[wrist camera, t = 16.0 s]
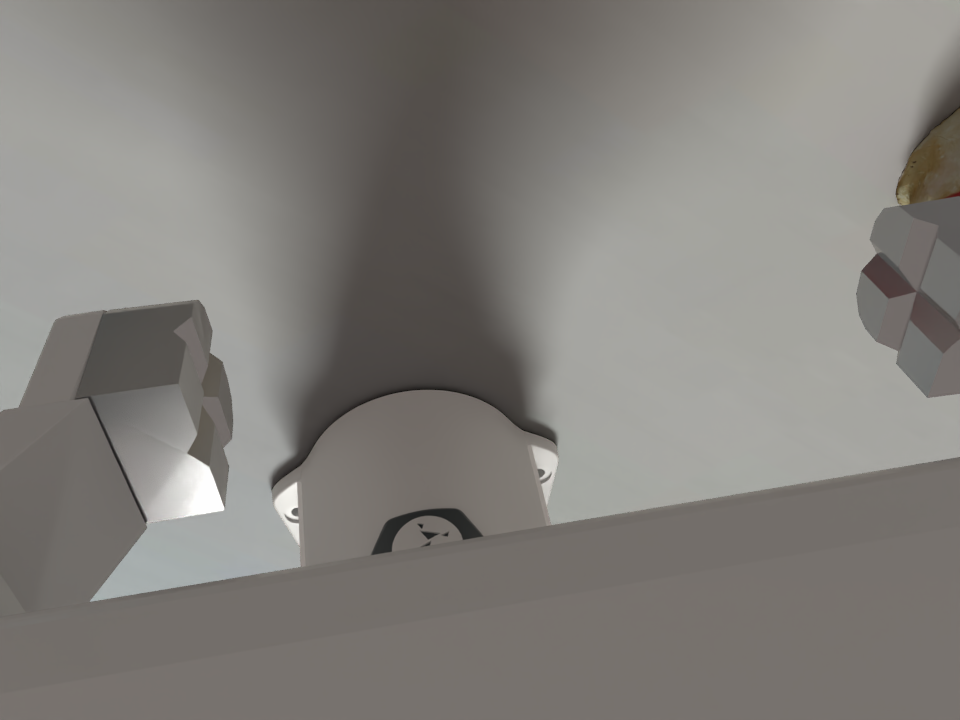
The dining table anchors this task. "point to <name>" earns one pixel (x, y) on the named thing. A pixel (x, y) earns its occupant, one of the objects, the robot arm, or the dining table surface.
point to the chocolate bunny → (933, 166)
